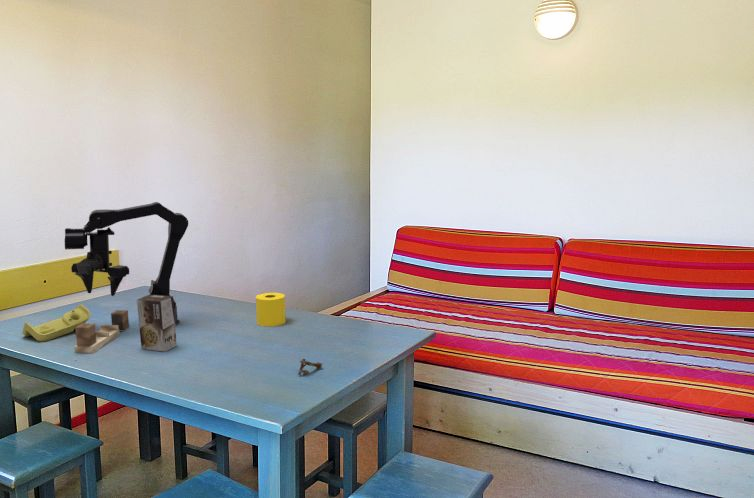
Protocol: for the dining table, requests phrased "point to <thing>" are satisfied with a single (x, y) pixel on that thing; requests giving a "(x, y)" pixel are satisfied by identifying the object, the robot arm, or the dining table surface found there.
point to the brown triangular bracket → (317, 365)
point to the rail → (99, 342)
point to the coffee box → (157, 322)
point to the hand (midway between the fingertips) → (101, 294)
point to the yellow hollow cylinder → (270, 309)
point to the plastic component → (58, 325)
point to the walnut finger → (120, 319)
